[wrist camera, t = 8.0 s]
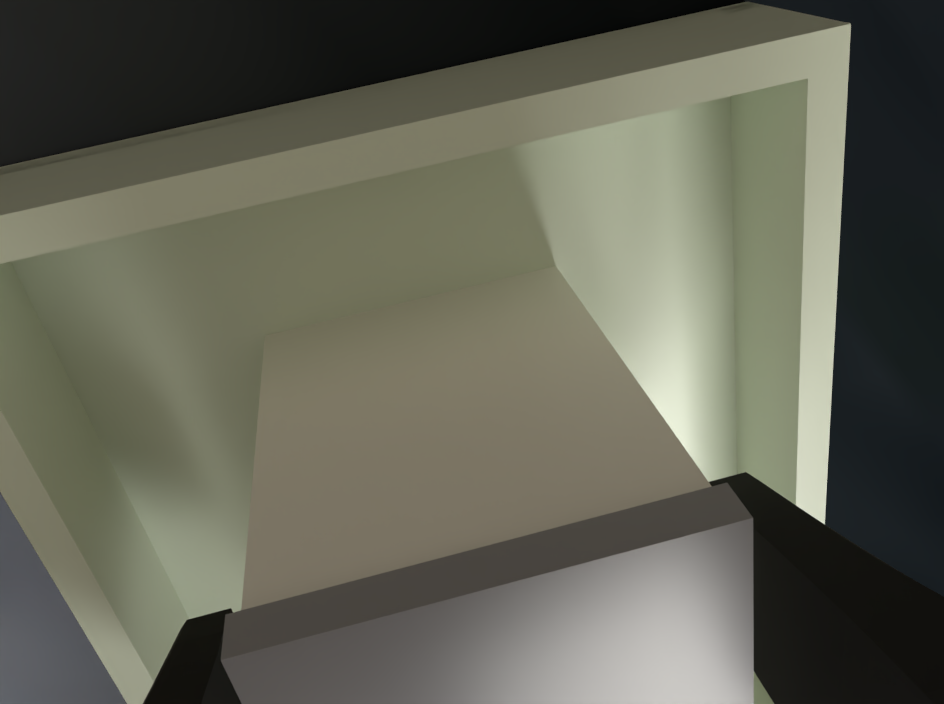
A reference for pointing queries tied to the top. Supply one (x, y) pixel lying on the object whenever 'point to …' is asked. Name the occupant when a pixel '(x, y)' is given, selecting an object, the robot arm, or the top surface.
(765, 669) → the robot arm
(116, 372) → the tray
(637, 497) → the grey box
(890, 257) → the top surface
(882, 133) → the top surface
